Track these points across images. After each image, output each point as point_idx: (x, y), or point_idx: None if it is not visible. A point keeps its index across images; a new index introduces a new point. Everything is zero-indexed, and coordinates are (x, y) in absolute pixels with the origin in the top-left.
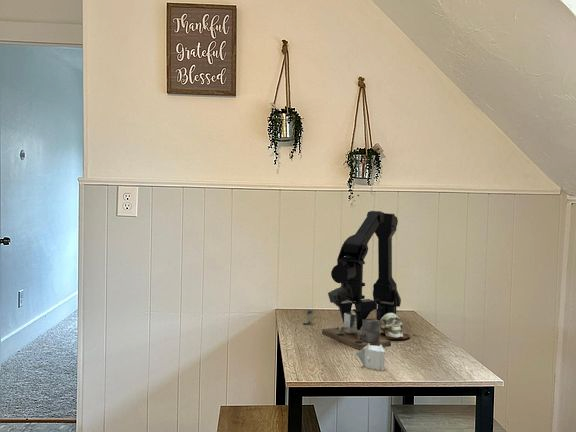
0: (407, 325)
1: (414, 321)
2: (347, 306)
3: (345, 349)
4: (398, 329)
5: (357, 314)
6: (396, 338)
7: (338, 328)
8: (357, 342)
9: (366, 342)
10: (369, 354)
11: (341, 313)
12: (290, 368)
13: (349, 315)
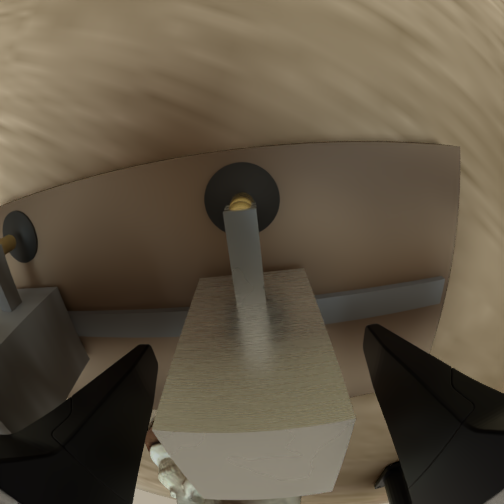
0: (337, 494)
1: (359, 501)
2: (439, 492)
3: (20, 130)
4: (160, 480)
5: (26, 441)
6: (154, 443)
7: (423, 280)
8: (10, 224)
9: (24, 282)
10: None
11: (450, 378)
12: None
13: (178, 421)
